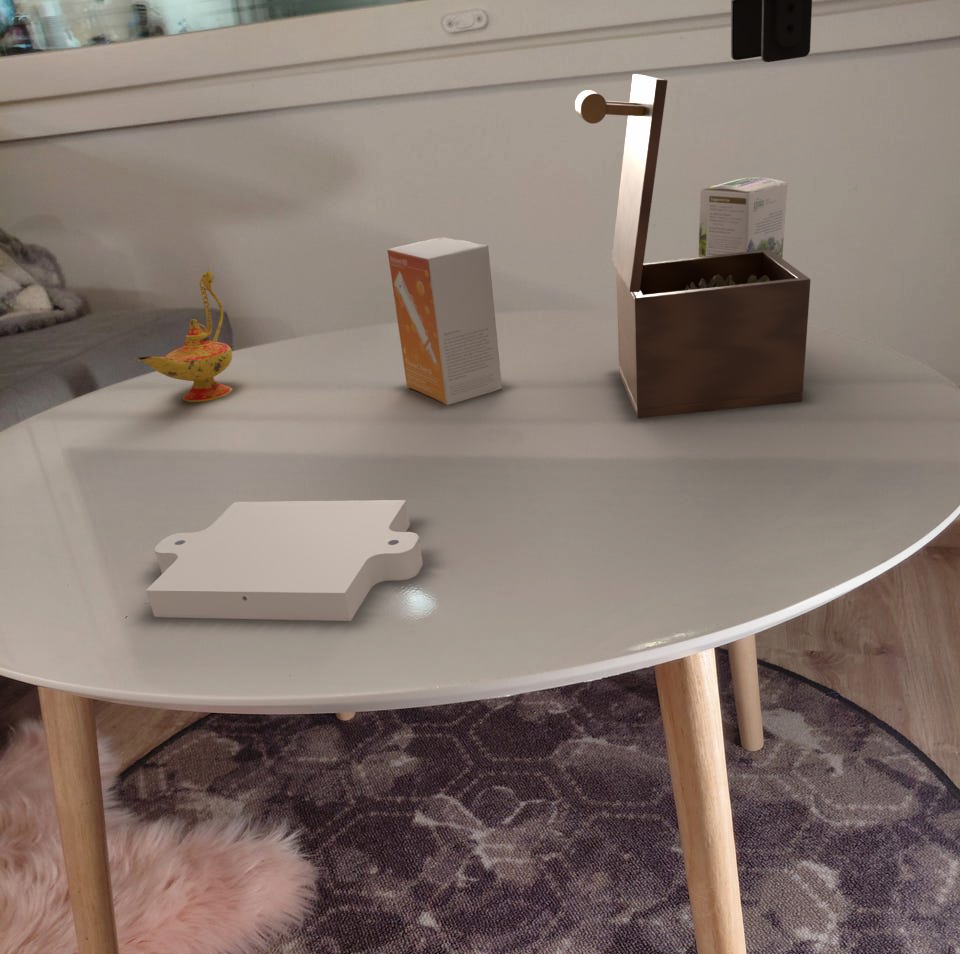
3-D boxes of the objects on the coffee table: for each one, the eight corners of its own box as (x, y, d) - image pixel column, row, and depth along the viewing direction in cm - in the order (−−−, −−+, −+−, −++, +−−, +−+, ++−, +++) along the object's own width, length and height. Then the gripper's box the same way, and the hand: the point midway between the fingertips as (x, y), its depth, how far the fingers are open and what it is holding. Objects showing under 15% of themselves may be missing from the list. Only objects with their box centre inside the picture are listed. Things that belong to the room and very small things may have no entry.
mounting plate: (118, 616, 61) (109, 590, 60) (209, 526, 72) (202, 502, 71) (391, 622, 57) (386, 593, 56) (444, 525, 67) (441, 499, 66)
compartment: (764, 359, 91) (769, 249, 86) (802, 402, 80) (810, 279, 75) (619, 374, 92) (615, 266, 87) (637, 419, 81) (634, 298, 76)
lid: (642, 74, 79) (574, 70, 79) (667, 80, 68) (588, 75, 68) (620, 261, 87) (557, 257, 86) (639, 292, 76) (568, 288, 76)
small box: (405, 388, 95) (385, 248, 89) (461, 372, 98) (445, 235, 91) (446, 406, 89) (427, 257, 82) (504, 389, 92) (490, 243, 85)
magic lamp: (125, 431, 93) (89, 314, 87) (209, 373, 108) (182, 269, 102) (189, 429, 92) (156, 310, 86) (265, 371, 106) (242, 265, 100)
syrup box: (731, 330, 101) (736, 176, 93) (779, 337, 96) (788, 177, 89) (695, 344, 98) (697, 186, 90) (743, 352, 94) (749, 188, 86)
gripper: (880, -299, 55) (858, 51, 64) (796, -227, 70) (788, 50, 79) (746, -275, 56) (742, 68, 65) (691, -209, 70) (695, 64, 79)
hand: (767, 58), depth 72 cm, fingers open, 9 cm apart
